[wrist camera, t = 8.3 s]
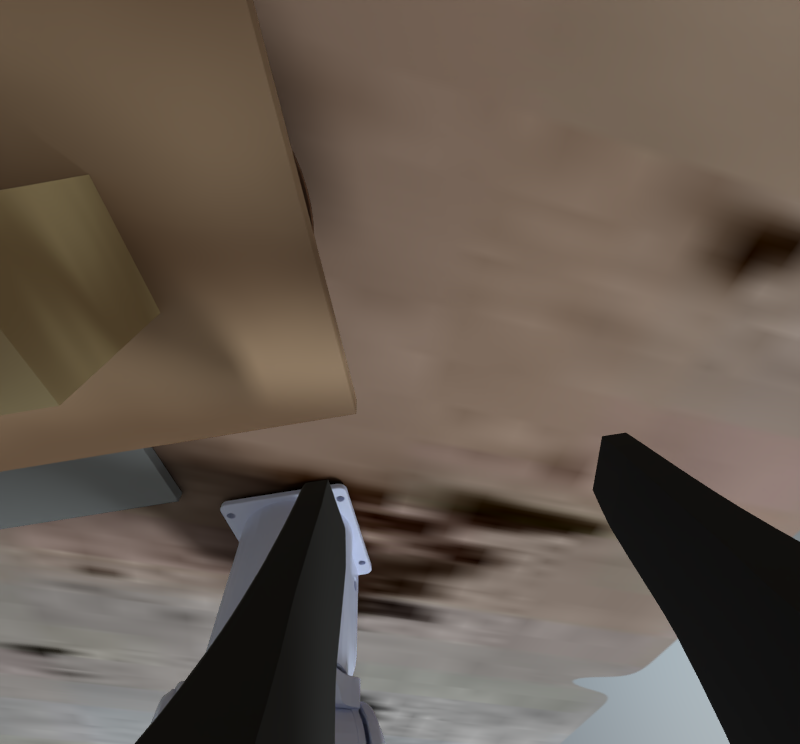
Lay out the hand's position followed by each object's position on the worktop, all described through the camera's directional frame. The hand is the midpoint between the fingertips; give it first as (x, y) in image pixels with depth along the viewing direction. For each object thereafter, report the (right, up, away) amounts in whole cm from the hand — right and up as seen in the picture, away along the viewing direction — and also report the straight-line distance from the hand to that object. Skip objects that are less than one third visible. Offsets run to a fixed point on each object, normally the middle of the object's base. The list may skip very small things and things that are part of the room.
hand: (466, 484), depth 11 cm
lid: (-11, +6, 0) cm, 12 cm away
